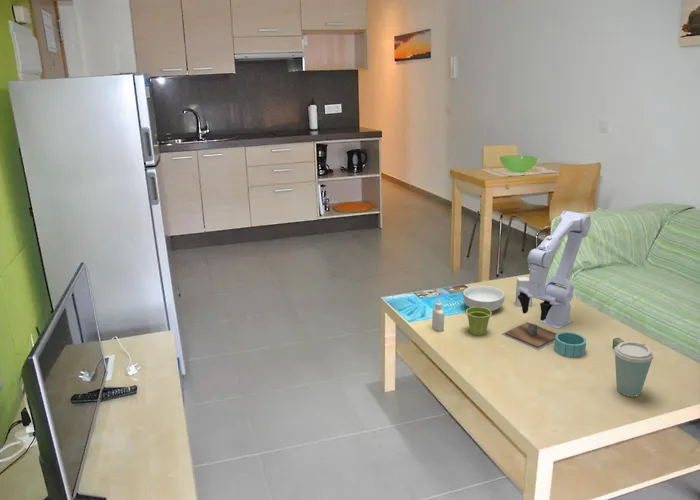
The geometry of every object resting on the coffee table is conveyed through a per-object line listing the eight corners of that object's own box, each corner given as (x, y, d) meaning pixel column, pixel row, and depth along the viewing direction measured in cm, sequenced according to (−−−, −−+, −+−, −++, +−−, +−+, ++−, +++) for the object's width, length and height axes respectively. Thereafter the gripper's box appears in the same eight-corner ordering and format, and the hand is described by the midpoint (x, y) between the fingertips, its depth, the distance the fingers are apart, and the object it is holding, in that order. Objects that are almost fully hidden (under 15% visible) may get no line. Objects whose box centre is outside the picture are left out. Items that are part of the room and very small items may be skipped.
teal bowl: (564, 341, 199) (565, 329, 197) (590, 352, 191) (591, 339, 190) (548, 350, 193) (549, 337, 191) (574, 361, 185) (576, 348, 184)
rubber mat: (526, 322, 214) (526, 322, 214) (563, 337, 202) (564, 336, 202) (501, 335, 205) (501, 334, 205) (538, 351, 193) (538, 350, 193)
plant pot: (462, 336, 205) (463, 315, 202) (467, 325, 213) (468, 305, 210) (488, 340, 201) (489, 318, 199) (492, 329, 210) (493, 308, 207)
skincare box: (529, 303, 231) (531, 277, 228) (531, 307, 227) (533, 280, 224) (514, 303, 232) (516, 276, 228) (516, 307, 228) (518, 280, 224)
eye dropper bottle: (443, 325, 213) (444, 297, 210) (443, 332, 208) (444, 303, 204) (432, 325, 214) (432, 296, 210) (432, 331, 209) (433, 302, 205)
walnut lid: (527, 323, 212) (528, 314, 211) (560, 336, 202) (561, 327, 201) (505, 334, 204) (505, 325, 203) (537, 348, 194) (538, 338, 193)
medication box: (611, 348, 194) (612, 338, 193) (618, 347, 194) (619, 337, 193) (635, 365, 183) (636, 354, 181) (642, 364, 183) (643, 353, 182)
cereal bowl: (461, 299, 237) (462, 284, 235) (500, 300, 235) (501, 285, 233) (463, 316, 221) (464, 300, 219) (506, 317, 219) (507, 301, 217)
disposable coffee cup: (629, 404, 161) (636, 359, 157) (600, 386, 171) (606, 343, 166) (655, 395, 165) (662, 351, 161) (625, 378, 175) (631, 336, 170)
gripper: (513, 278, 200) (510, 312, 204) (548, 290, 189) (545, 325, 193) (525, 274, 204) (522, 307, 208) (560, 285, 193) (556, 320, 197)
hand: (534, 316), depth 201 cm, fingers open, 7 cm apart
